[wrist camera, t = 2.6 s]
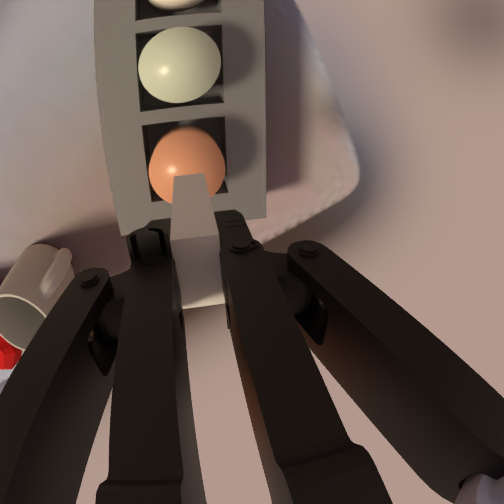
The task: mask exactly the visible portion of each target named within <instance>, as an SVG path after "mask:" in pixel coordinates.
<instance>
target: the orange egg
mask: <svg viewBox="0 0 504 504" xmlns="http://www.w3.org/2000/svg"><path fill="white" fill-rule="evenodd" d="M198 173H204V174H205V178H206V183H207V187H208V191H209V195H210V198H211V197H212V196H213V195H214V194H215V193H216V192H217V191H218V190H219V188H220V186H221V185H222V182H223V180H224V176H225V162H224V158H223V155H222V153H221V151H220V149H219V147H218V146H217V144H216V142H215V140H214V139H213V137H212V136H211V135H210V134H209V133H208V132H207V131H206V130H204V129H202V128H200V127H197V126H194V125H181V126H177V127H174V128H172V129H170V130H168V131H167V132H166V133H164V134H163V135H162V137H161V138H160V139H159V140H158V142H157V144H156V147H155V149H154V152H153V155H152V157H151V160H150V164H149V179H150V182H151V185H152V187H153V189H154V190H155V192H156V193H157V194H158V195H159V196H160V197H161V198H162V199H163V200H165V201H167V202H168V203H171V204H172V196H173V182H174V176H180V175H189V174H198Z"/></svg>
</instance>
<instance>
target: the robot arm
mask: <svg viewBox="0 0 504 504" xmlns="http://www.w3.org/2000/svg"><path fill="white" fill-rule="evenodd" d="M126 241H127V246H128V250H129V254H130V258H131V266H130V269H129V270H128V271H126V272H124V273H121V274H118V275H115V276H112V277H109V274H108V271H106V270H105V269H102V268H90V269H88V270H87V269H86V270H84V271H82V272H81V273H79V274H77V275H76V276H75V277H74V278H73V279H72V281H71V282H70V284H69V285H68V286H67V288H66V289H65V291H64V292H63V293H62V295H61V296H60V298H59V299H58V300H57V302H56V303H55V305H54V306H53V308H52V309H51V311H50V312H49V314H48V315H47V317H46V318H45V320H44V321H43V323H42V324H41V326H40V327H39V329H38V330H37V332H36V334H35V335H34V337H33V338H32V340H31V341H30V343H29V345H28V346H27V348H26V350H25V351H24V353H23V355H22V356H21V358H20V360H19V361H18V363H17V365H16V367H15V368H14V370H13V372H12V374H11V375H10V377H9V379H8V381H7V383H6V385H5V386H4V388H3V390H2V392H1V394H0V504H76V500H77V496H78V493H79V489H80V486H81V482H82V478H83V475H84V471H85V468H86V465H87V461H88V458H89V455H90V452H91V448H92V445H93V442H94V439H95V436H96V433H97V430H98V427H99V424H100V421H101V418H102V415H103V412H104V409H105V406H106V404H107V401H108V398H109V395H110V392H111V389H112V387H113V391H112V402H111V403H112V404H111V417H110V437H109V438H110V439H109V472H108V477H107V480H105V481H104V482H102V483H101V484H100V485H99V487H98V490H97V492H96V503H95V504H207V503H206V499H205V498H206V497H205V492H204V486H203V480H202V474H201V468H200V461H199V455H198V448H197V441H196V434H195V426H194V419H193V409H192V401H191V392H190V383H189V373H188V362H187V351H186V337H185V324H184V316H183V311H182V307H183V309H184V308H192V307H201V306H208V305H216V304H223V303H225V305H226V315H227V326H228V329H230V333H231V337H232V341H233V346H234V351H235V355H236V360H237V364H238V368H239V373H240V377H241V381H242V385H243V389H244V393H245V398H246V402H247V406H248V410H249V415H250V419H251V423H252V427H253V431H254V434H255V439H256V442H257V446H258V450H259V454H260V458H261V461H262V466H263V469H264V473H265V477H266V480H267V484H268V488H269V491H270V495H271V500H272V504H393V503H392V501H391V498H390V496H389V494H388V492H387V490H386V487H385V485H384V483H383V481H382V479H381V476H380V474H379V472H378V470H377V468H376V465H375V463H374V461H373V459H372V458H371V456H370V454H369V452H367V450H366V449H365V448H364V447H363V446H361V445H358V444H355V443H353V442H352V441H351V440H350V438H349V436H348V435H347V432H346V430H345V428H344V426H343V423H342V421H341V419H340V417H339V414H338V412H337V410H336V407H335V405H334V403H333V401H332V398H331V397H330V394H329V392H328V390H327V387H326V385H325V383H324V380H323V378H322V376H321V374H320V372H319V369H318V367H317V365H316V363H315V361H314V358H313V356H312V354H311V351H312V352H313V353H314V354H315V355H316V357H317V358H318V359H319V360H320V361H321V363H322V364H323V365H324V366H325V367H326V369H327V370H328V371H329V372H330V373H331V375H332V376H333V377H334V378H335V379H336V380H337V382H338V383H339V384H340V385H341V386H342V388H343V389H344V390H345V391H346V392H347V394H348V395H349V396H350V397H351V398H352V399H353V401H354V402H355V403H356V404H357V405H358V406H359V408H360V409H361V410H362V411H363V412H364V414H365V415H366V416H367V417H368V418H369V419H370V421H371V422H372V423H373V424H374V425H375V426H376V428H377V429H378V430H379V431H380V432H381V433H382V435H383V436H384V437H385V438H386V439H387V440H388V442H389V443H390V444H391V445H392V446H393V447H394V449H395V450H396V451H397V452H398V453H399V454H400V455H401V456H402V458H403V459H404V460H405V461H406V462H407V464H408V465H409V466H410V467H411V468H412V469H413V470H414V472H415V473H416V474H417V475H418V476H419V477H420V478H421V479H422V480H423V481H424V482H425V483H426V484H427V485H428V486H429V487H430V488H431V489H432V490H433V491H435V492H436V493H438V494H439V495H440V496H441V497H443V498H444V499H446V500H448V501H450V502H452V503H453V504H504V398H503V397H502V396H501V395H500V394H499V393H498V392H497V391H496V390H495V389H494V388H493V387H491V386H490V385H489V384H488V383H487V382H486V381H485V380H484V379H483V378H482V377H481V376H480V375H479V374H477V373H476V372H475V371H474V370H473V369H472V368H471V367H470V366H469V365H468V364H466V363H465V362H464V361H463V360H462V359H461V358H460V357H459V356H458V355H456V354H455V353H454V352H453V351H452V350H451V349H450V348H449V347H447V346H446V345H445V344H444V343H443V342H442V341H441V340H439V339H438V338H437V337H436V336H435V335H434V334H433V333H431V332H430V331H429V330H428V329H427V328H426V327H424V326H423V325H422V324H421V323H420V322H419V321H417V320H416V319H415V318H414V317H413V316H411V315H410V314H409V313H408V312H407V311H405V310H404V309H403V308H402V307H401V306H400V305H398V304H397V303H396V302H395V301H394V300H392V299H391V298H390V297H389V296H387V295H386V294H385V293H384V292H383V291H381V290H380V289H379V288H378V287H376V286H375V285H374V284H373V283H371V282H370V281H369V280H368V279H366V278H365V277H364V276H363V275H362V274H360V273H359V272H358V271H356V270H355V269H354V268H353V267H351V266H350V265H349V264H348V263H346V262H345V261H344V260H343V259H341V258H340V257H339V256H337V255H336V254H335V253H334V252H332V251H331V250H329V249H328V248H327V247H326V246H324V245H322V244H321V243H318V242H314V241H310V240H309V241H307V240H303V241H299V242H295V243H293V244H291V245H290V246H289V247H288V252H287V254H283V253H272V252H267V251H265V250H264V249H263V246H262V245H261V244H260V242H259V241H257V240H254V239H253V238H252V235H251V233H250V231H249V228H248V226H247V224H246V222H245V219H244V217H243V215H242V213H240V212H238V211H237V210H235V209H234V210H225V211H216V212H213V208H212V204H211V199H210V195H209V191H208V187H207V183H206V178H205V174H204V173H198V174H189V175H180V176H174V182H173V196H172V212H171V218H166V219H158V220H151V221H150V222H149V223H148V224H147V225H146V226H145V227H143V228H139V229H137V230H135V231H133V232H131V233H130V234H129V235H128V236H127V238H126ZM309 348H310V349H311V351H310V349H309Z"/></svg>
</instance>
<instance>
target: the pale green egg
mask: <svg viewBox="0 0 504 504" xmlns="http://www.w3.org/2000/svg"><path fill="white" fill-rule="evenodd" d="M220 67H221V57H220V52H219V50H218V47H217V45H216V44H215V42H214V41H213V40H212V39H211V38H210V37H209V36H208V35H207V34H205V33H204V32H202V31H200V30H198V29H195V28H191V27H174V28H170V29H167V30H164V31H162V32H160V33H159V34H157V35H156V36H154V37H153V38H152V39H151V40H150V41H149V42H148V43H147V44H146V46H145V47H144V49H143V51H142V53H141V55H140V59H139V64H138V71H139V76H140V80H141V82H142V84H143V86H144V87H145V89H146V90H147V91H148V92H149V93H150V94H151V95H153V96H154V97H156V98H158V99H160V100H162V101H165V102H170V103H183V102H188V101H191V100H194V99H196V98H198V97H200V96H202V95H203V94H204V93H206V92H207V91H208V90H209V89H210V88H211V87H212V86H213V84H214V83H215V81H216V79H217V77H218V75H219V72H220Z"/></svg>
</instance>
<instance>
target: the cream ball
mask: <svg viewBox="0 0 504 504" xmlns="http://www.w3.org/2000/svg"><path fill="white" fill-rule="evenodd" d="M148 1H149V2H150V4H152V5H153V6H154V7H156V8H158V9H160V10H163V11H167V12H181V11H186V10H189V9H192V8H194V7H196V6H197V5H199V4H200V3H202V2H203V1H204V0H148Z"/></svg>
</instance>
